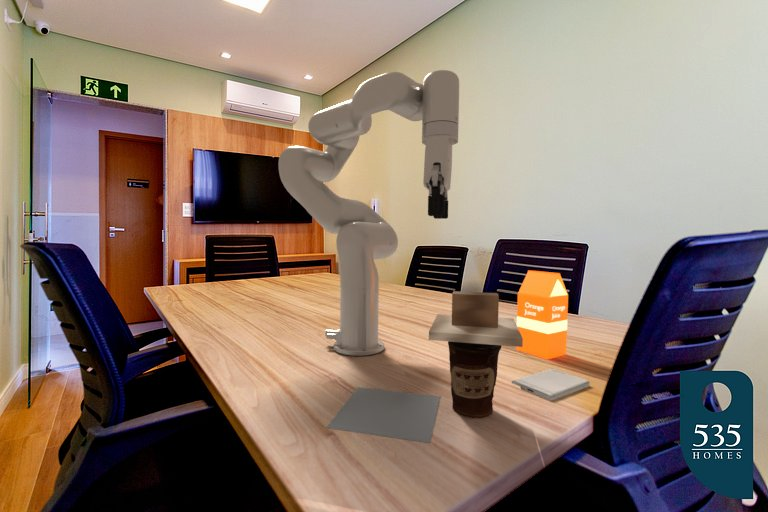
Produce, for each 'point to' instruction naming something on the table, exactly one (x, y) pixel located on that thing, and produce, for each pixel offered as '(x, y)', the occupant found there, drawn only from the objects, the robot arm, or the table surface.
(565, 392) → the hard drive
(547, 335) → the orange juice
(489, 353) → the coffee cup
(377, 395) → the mat
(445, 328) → the lid
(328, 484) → the table surface
